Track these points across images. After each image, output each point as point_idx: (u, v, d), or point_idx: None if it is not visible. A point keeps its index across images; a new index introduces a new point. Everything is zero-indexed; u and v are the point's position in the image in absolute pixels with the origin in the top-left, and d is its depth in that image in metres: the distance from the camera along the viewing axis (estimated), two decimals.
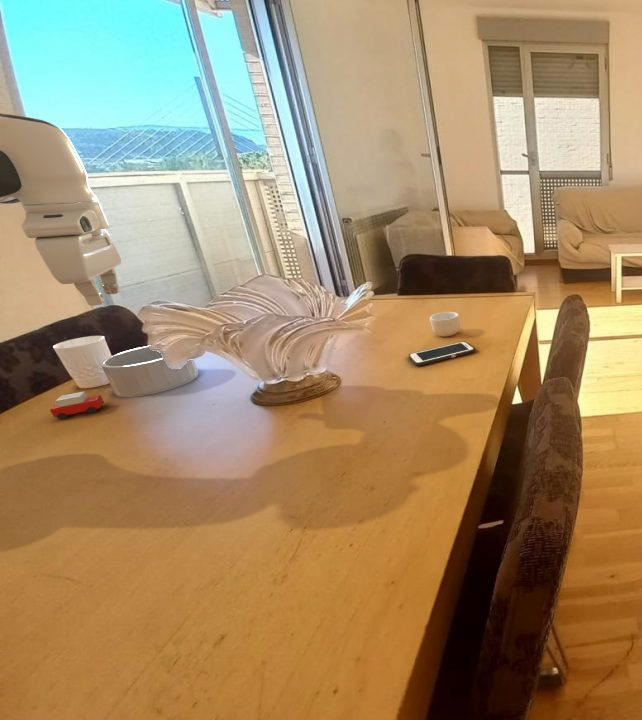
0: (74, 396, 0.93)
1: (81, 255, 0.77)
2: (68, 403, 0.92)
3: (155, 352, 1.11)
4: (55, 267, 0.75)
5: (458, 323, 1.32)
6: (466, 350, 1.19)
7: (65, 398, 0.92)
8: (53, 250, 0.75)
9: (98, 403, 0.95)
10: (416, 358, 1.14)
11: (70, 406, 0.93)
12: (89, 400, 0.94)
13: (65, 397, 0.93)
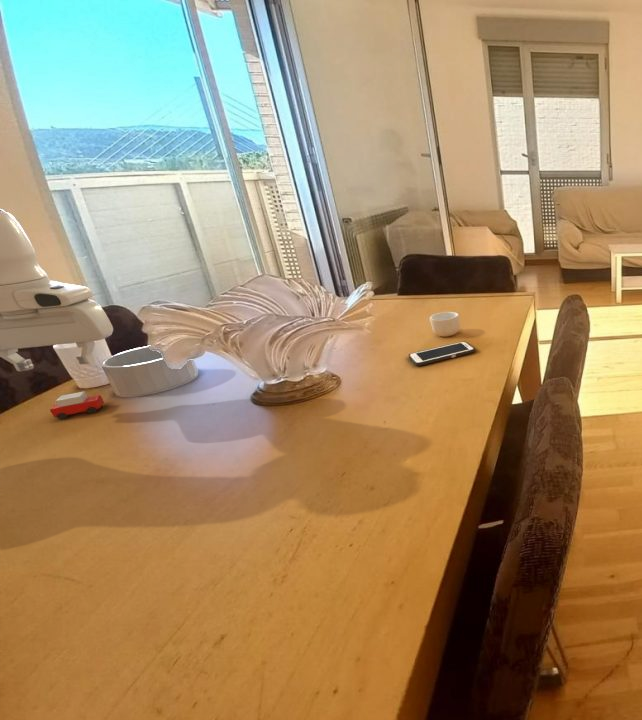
0: (74, 396, 0.93)
1: (105, 313, 0.92)
2: (68, 403, 0.92)
3: (155, 352, 1.11)
4: (99, 325, 0.90)
5: (458, 323, 1.32)
6: (466, 350, 1.19)
7: (65, 398, 0.92)
8: (92, 312, 0.89)
9: (98, 403, 0.95)
10: (416, 358, 1.14)
11: (70, 406, 0.93)
12: (89, 400, 0.94)
13: (65, 397, 0.93)
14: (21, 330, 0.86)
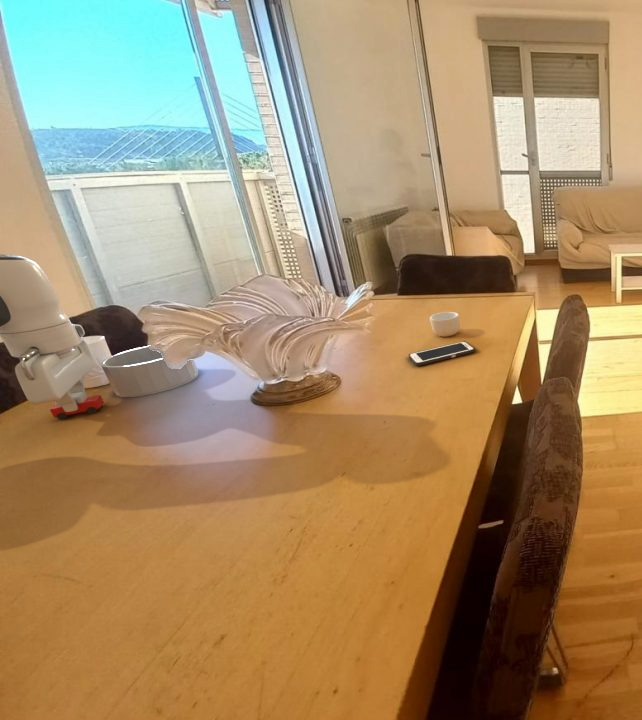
0: (74, 396, 0.93)
1: None
2: None
3: (155, 352, 1.11)
4: None
5: (458, 323, 1.32)
6: (466, 350, 1.19)
7: None
8: None
9: (98, 403, 0.95)
10: (416, 358, 1.14)
11: None
12: (89, 400, 0.94)
13: None
14: (69, 368, 0.91)
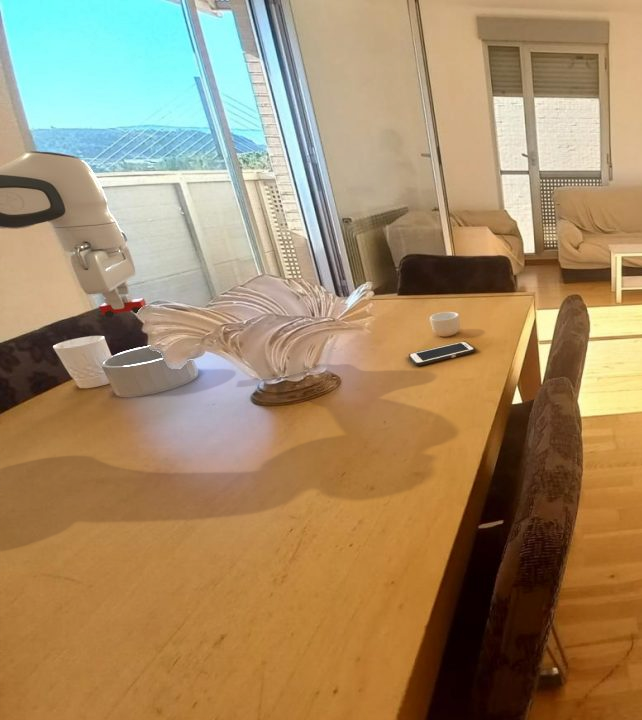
0: (120, 296, 0.99)
1: None
2: None
3: (155, 352, 1.11)
4: None
5: (458, 323, 1.32)
6: (466, 350, 1.19)
7: None
8: None
9: (142, 304, 1.01)
10: (416, 358, 1.14)
11: None
12: (134, 301, 1.00)
13: None
14: (116, 268, 0.97)
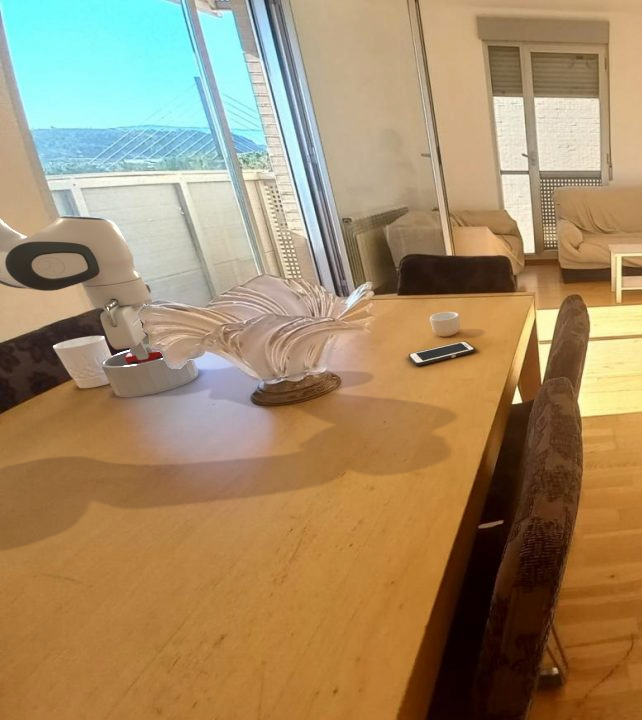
0: (145, 346, 1.04)
1: None
2: None
3: None
4: None
5: (458, 323, 1.32)
6: (466, 350, 1.19)
7: None
8: None
9: None
10: (416, 358, 1.14)
11: None
12: None
13: None
14: None
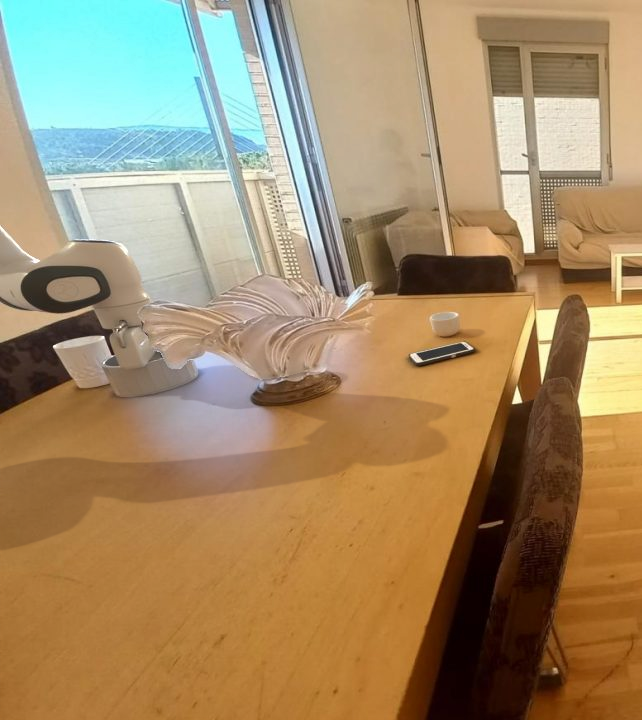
0: None
1: None
2: None
3: None
4: None
5: (458, 323, 1.32)
6: (466, 350, 1.19)
7: None
8: None
9: None
10: (416, 358, 1.14)
11: None
12: None
13: None
14: (148, 340, 1.04)
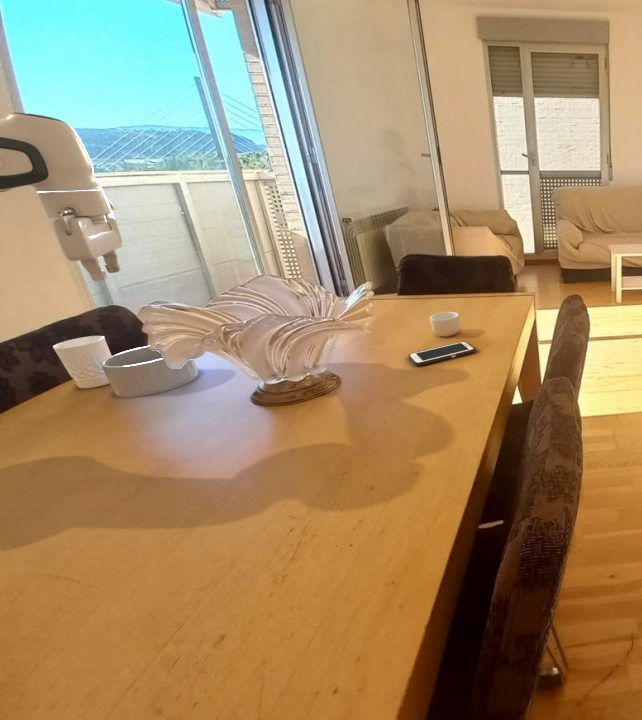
0: None
1: None
2: None
3: (155, 352, 1.11)
4: None
5: (458, 323, 1.32)
6: (466, 350, 1.19)
7: None
8: None
9: None
10: (416, 358, 1.14)
11: None
12: None
13: None
14: (101, 236, 0.95)
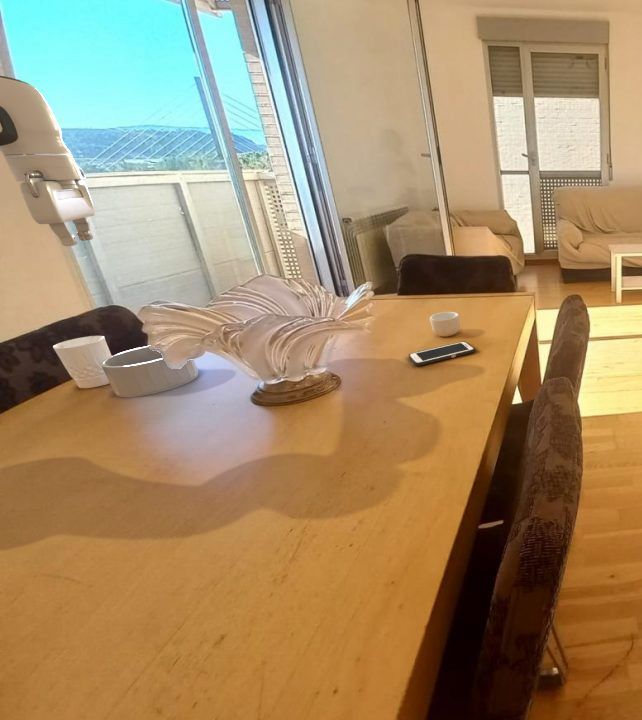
0: None
1: None
2: None
3: (155, 352, 1.11)
4: None
5: (458, 323, 1.32)
6: (466, 350, 1.19)
7: None
8: None
9: None
10: (416, 358, 1.14)
11: None
12: None
13: None
14: (71, 202, 0.95)
